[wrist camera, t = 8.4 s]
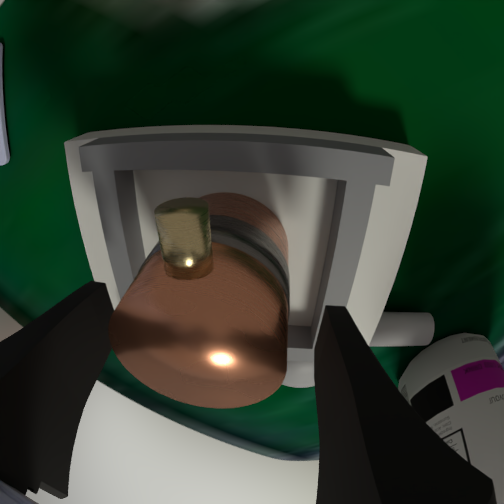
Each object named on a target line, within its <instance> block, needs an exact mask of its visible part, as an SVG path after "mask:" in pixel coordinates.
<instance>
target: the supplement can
mask: <svg viewBox="0 0 504 504" xmlns="http://www.w3.org/2000/svg"><path fill="white" fill-rule="evenodd" d="M398 390H399V391H400V393H401V394H402V395H403V396H404V398H405V399H406V400H407V401H408V403H409V404H410V405H411V406H412V407H413V409H414V410H415V411H416V412H417V413H418V414H419V416H420V417H421V418H422V419H423V420H424V421H425V422H426V424H427V425H428V426H429V427H431V428H432V429H433V430H434V431H435V432H436V433H437V434H438V435H439V436H440V437H441V438H442V439H443V440H444V441H445V442H446V443H447V444H448V445H449V446H450V447H451V448H452V449H453V450H454V451H456V452H457V453H458V454H459V455H460V456H461V457H463V458H464V459H465V460H466V461H467V462H469V463H470V464H471V465H473V466H474V467H476V468H477V469H478V470H480V471H481V472H483V473H484V474H485V475H487V476H488V477H490V478H491V479H492V480H493V484H494V489H495V495H496V501H497V504H504V370H503V368H502V366H501V363H500V361H499V359H498V357H497V355H496V353H495V351H494V349H493V347H492V345H491V343H490V341H489V340H488V339H487V338H486V337H485V336H483V335H477V334H470V333H461V334H456V335H451V336H448V337H446V338H444V339H441V340H439V341H437V342H435V343H433V344H432V345H430V346H429V347H427V348H426V349H424V350H422V351H421V352H420V353H419V354H418V355H417V356H416V357H415V358H414V359H413V360H412V361H411V362H410V363H409V365H408V367H407V368H406V370H405V372H404V373H403V375H402V376H401V378H400V379H399V386H398Z"/></svg>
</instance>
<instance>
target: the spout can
mask: <svg viewBox="0 0 504 504" xmlns="http://www.w3.org/2000/svg"><path fill="white" fill-rule="evenodd" d="M154 213H155V220H156V226H157V231H158V237H159V241H158V242H157V244H156V245H155V246H154V248H153V249H152V251H151V252H150V254H149V255H148V256H147V258H146V259H145V261H144V262H143V264H142V265H141V267H140V269H139V271H138V274H137V276H136V277H135V279H134V280H133V282H132V283H131V285H130V286H129V288H128V290H127V291H126V293H125V294H124V296H123V297H122V299H121V301H120V302H119V304H118V305H117V307H116V309H115V310H114V312H113V313H112V316H111V318H110V321H109V327H108V333H109V339H110V343H111V346H112V348H113V350H114V352H115V354H116V356H117V357H118V359H119V360H120V362H121V363H122V364H123V365H124V367H125V368H126V369H127V370H128V371H129V372H130V373H131V374H132V375H133V376H134V377H136V378H137V379H138V380H140V381H141V382H142V383H144V384H145V385H147V386H148V387H150V388H151V389H153V390H155V391H157V392H158V393H161V394H163V395H165V396H167V397H169V398H172V399H174V400H177V401H180V402H183V403H187V404H191V405H195V406H201V407H209V408H235V407H242V406H247V405H251V404H254V403H257V402H259V401H261V400H263V399H265V398H267V397H269V396H270V395H272V394H273V393H274V392H275V391H276V390H277V389H278V388H279V387H280V386H281V384H282V383H283V381H284V379H285V376H286V372H287V347H288V321H289V315H290V274H289V269H288V240H287V236H286V233H285V230H284V228H283V226H282V224H281V222H280V221H279V219H278V218H277V216H276V215H275V214H274V213H273V212H272V211H271V210H270V209H269V208H267V207H266V206H265V205H263V204H262V203H260V202H259V201H257V200H255V199H253V198H251V197H248V196H245V195H242V194H237V193H230V192H219V193H212V194H208V195H205V196H202V197H200V198H193V197H185V198H177V199H172V200H169V201H166V202H164V203H162V204H160V205H158V206H157V207H156V208H155V210H154Z"/></svg>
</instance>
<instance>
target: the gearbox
mask: <svg viewBox="0 0 504 504" xmlns="http://www.w3.org/2000/svg"><path fill="white" fill-rule="evenodd" d="M64 144H65V151H66V159H67V165H68V171H69V177H70V183H71V188H72V194H73V199H74V204H75V208H76V213H77V217H78V222H79V226H80V230H81V234H82V238H83V242H84V246H85V250H86V253H87V257H88V260H89V264H90V267H91V271H92V274H93V277H94V281H96V282H103V283H106V286H107V290H108V293H109V296H110V299H111V302H112V305H113V308H114V310H115V309H116V307H117V305H118V304H119V302H120V301H121V299H122V297H123V296H124V294H125V293H126V291H127V290H128V288H129V286H130V285H131V283H132V282H133V280H134V279H135V277H136V276H137V274H138V271H139V269H140V267H141V265H142V264H143V262H144V261H145V259H146V258H147V256H148V255H149V254H150V252H151V251H152V249H153V248H154V246H155V245H156V244H157V242H158V241H159V237H158V231H157V226H156V220H155V213H154V210H155V208H156V207H157V206H158V205H160V204H162V203H164V202H166V201H169V200H172V199H177V198H185V197H193V198H200V197H202V196H205V195H208V194H212V193H219V192H230V193H237V194H242V195H245V196H248V197H251V198H253V199H255V200H257V201H259V202H260V203H262V204H263V205H265V206H266V207H267V208H269V209H270V210H271V211H272V212H273V213H274V214H275V215H276V216H277V218H278V219H279V221H280V222H281V224H282V226H283V228H284V230H285V233H286V236H287V240H288V269H289V274H290V315H289V321H288V347H287V372H286V376H285V379H284V381H283V383H282V384H283V385H286V386H290V387H297V388H304V387H311V386H315V382H314V348H315V344H316V340H317V337H318V333H319V329H320V325H321V321H322V317H323V313H324V309H325V305H333V306H345V307H346V308H347V310H348V311H349V313H350V315H351V317H352V318H353V320H354V322H355V324H356V325H357V327H358V329H359V331H360V332H361V334H362V336H363V337H364V339H365V341H366V342H367V344H368V346H424V345H428V344H429V343H430V342H431V340H432V338H433V335H434V319H433V317H432V315H431V314H430V313H415V312H383V310H384V307H385V305H386V302H387V299H388V297H389V294H390V291H391V289H392V286H393V283H394V280H395V277H396V274H397V271H398V268H399V265H400V262H401V259H402V256H403V253H404V250H405V246H406V243H407V240H408V236H409V233H410V229H411V226H412V222H413V218H414V215H415V211H416V207H417V203H418V199H419V195H420V190H421V186H422V182H423V177H424V172H425V167H426V162H427V157H428V156H426V155H424V154H423V153H421V152H420V151H418V150H416V149H415V148H413V147H411V146H410V145H406V144H401V143H396V142H391V141H385V140H380V139H374V138H368V137H361V136H355V135H348V134H340V133H332V132H324V131H315V130H305V129H294V128H281V127H265V126H242V125H175V126H153V127H137V128H125V129H114V130H104V131H96V132H88V133H85V134H83V135H80V136H78V137H75V138H73V139H71V140H68V141H66V142H64Z"/></svg>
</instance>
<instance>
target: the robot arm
mask: <svg viewBox="0 0 504 504" xmlns="http://www.w3.org/2000/svg"><path fill="white" fill-rule="evenodd" d="M2 54H3V45H2V43H1V42H0V165H4V164H6V163H8V162H9V159H10V154H9V147H8V140H7V133H6V124H5V114H4V102H3V81H2ZM113 312H114V308H113V305H112V302H111V299H110V296H109V293H108V290H107V286H106V283H103V282H96V281H90V282H89V283H87V284H85V285H84V286H82V287H81V288H79V289H78V290H76V291H75V292H73V293H72V294H70V295H69V296H68V297H66V298H65V299H63V300H62V301H61V302H59V303H58V304H56V305H55V306H54V307H52V308H51V309H49V310H48V311H47V312H45V313H44V314H42V315H41V316H40V317H38V318H37V319H35V320H34V321H32V322H31V323H29V324H28V325H26V326H25V327H24V328H22V329H21V330H19V331H18V332H16V333H14V334H13V335H11V336H10V337H8V338H6V339H4V340H3V341H1V342H0V504H38V503H36V502H35V501H33V500H31V499H30V498H28V497H27V496H25V495H26V492H27V489H28V490H30V491H31V492H33V493H35V494H36V493H37V492H38V489H39V488H40V489H42V490H44V491H46V492H48V493H50V494H52V495H54V496H56V497H58V498H60V499H63V498H65V497H67V496H68V484H69V483H68V482H69V471H70V464H71V457H72V451H73V446H74V442H75V438H76V433H77V429H78V426H79V423H80V419H81V416H82V413H83V409H84V407H85V404H86V402H87V399H88V397H89V395H90V393H91V390H92V388H93V386H94V384H95V382H96V380H97V378H98V376H99V374H100V372H101V370H102V368H103V366H104V364H105V362H106V360H107V358H108V355H109V353H110V351H111V349H112V346H111V343H110V339H109V333H108V327H109V321H110V318H111V316H112V313H113ZM314 382H315V393H316V403H317V414H318V425H319V438H320V456H319V476H318V489H317V500H316V504H497V501H496V495H495V489H494V484H493V480H492V479H491V478H490V477H488V476H487V475H485V474H484V473H483V472H481V471H480V470H478V469H477V468H476V467H474V466H473V465H471V464H470V463H469V462H467V461H466V460H465V459H464V458H463V457H461V456H460V455H459V454H458V453H457V452H456V451H454V450H453V449H452V448H451V447H450V446H449V445H448V444H447V443H446V442H445V441H444V440H443V439H442V438H441V437H440V436H439V435H438V434H437V433H436V432H435V431H434V430H433V429H432V428H431V427H429V426H428V425H427V424H426V422H425V421H424V420H423V419H422V418H421V417H420V416H419V414H418V413H417V412H416V411H415V410H414V409H413V407H412V406H411V405H410V404H409V403H408V401H407V400H406V399H405V398H404V396H403V395H402V394H401V393H400V391H399V390H398V389H397V387H396V386H395V384H394V383H393V382H392V380H391V379H390V377H389V376H388V375H387V373H386V372H385V370H384V369H383V367H382V366H381V364H380V363H379V361H378V360H377V358H376V357H375V355H374V353H373V352H372V350H371V349H370V347H369V346H368V344H367V342H366V341H365V339H364V337H363V336H362V334H361V332H360V331H359V329H358V327H357V325H356V324H355V322H354V320H353V318H352V317H351V315H350V313H349V311H348V310H347V308H346V307H345V306H333V305H325V309H324V313H323V317H322V321H321V325H320V329H319V333H318V337H317V340H316V344H315V348H314Z"/></svg>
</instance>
